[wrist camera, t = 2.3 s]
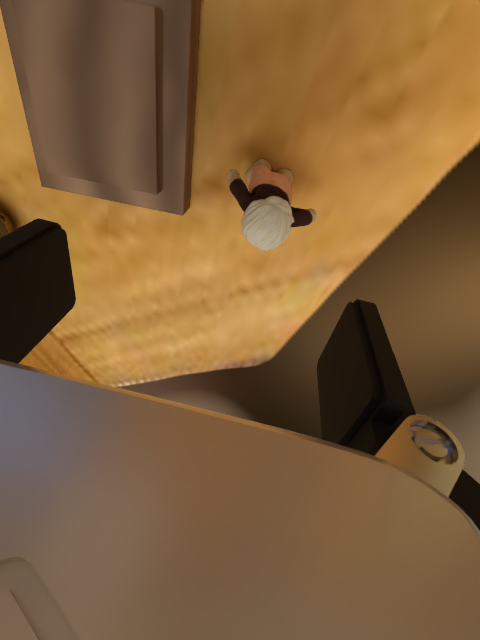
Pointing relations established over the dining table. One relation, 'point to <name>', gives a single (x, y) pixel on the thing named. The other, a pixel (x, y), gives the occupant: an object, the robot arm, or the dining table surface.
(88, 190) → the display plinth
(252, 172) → the grandmother figurine
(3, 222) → the cup
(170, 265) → the dining table surface
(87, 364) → the dining table surface
